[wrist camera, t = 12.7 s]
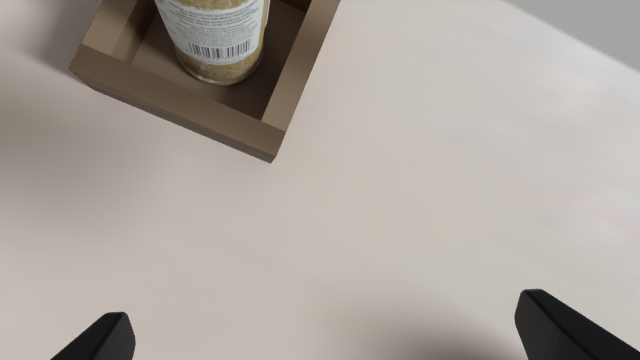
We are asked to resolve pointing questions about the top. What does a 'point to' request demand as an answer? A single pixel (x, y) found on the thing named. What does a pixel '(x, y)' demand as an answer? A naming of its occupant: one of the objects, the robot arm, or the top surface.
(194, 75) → the sprinkles bottle
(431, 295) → the top surface
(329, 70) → the top surface
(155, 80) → the walnut holder
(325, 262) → the top surface
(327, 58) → the top surface
